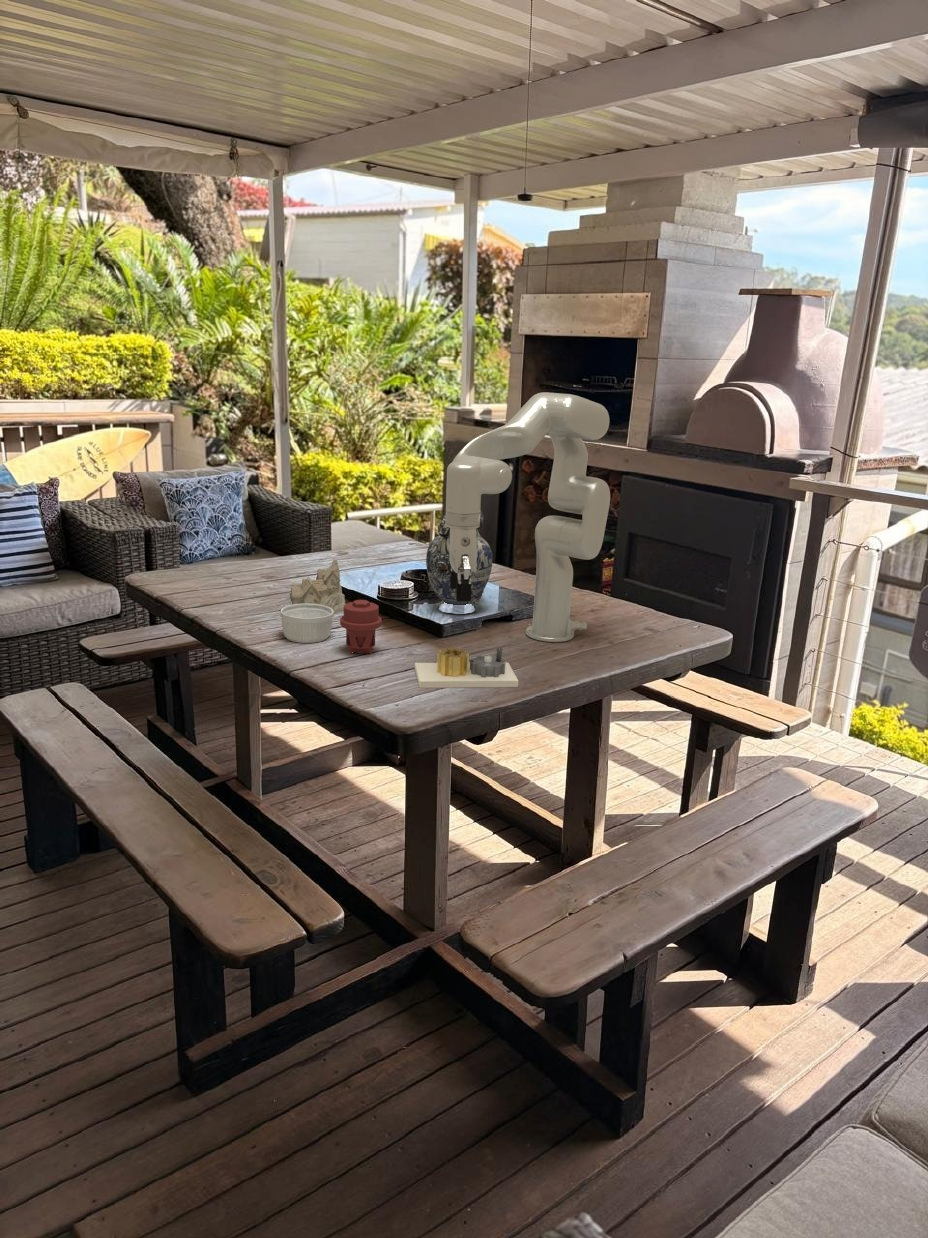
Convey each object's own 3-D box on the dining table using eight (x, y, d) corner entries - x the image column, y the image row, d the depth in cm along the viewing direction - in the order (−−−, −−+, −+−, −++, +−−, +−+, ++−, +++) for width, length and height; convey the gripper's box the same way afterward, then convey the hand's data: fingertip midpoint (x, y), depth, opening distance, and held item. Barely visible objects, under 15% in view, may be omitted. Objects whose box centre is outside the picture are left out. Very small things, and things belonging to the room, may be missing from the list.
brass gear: (465, 666, 211) (466, 647, 210) (470, 677, 204) (471, 658, 203) (435, 666, 210) (435, 647, 209) (438, 677, 203) (439, 658, 202)
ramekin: (343, 634, 234) (343, 608, 232) (314, 648, 223) (314, 621, 221) (300, 625, 239) (300, 600, 237) (269, 639, 228) (269, 612, 226)
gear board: (507, 668, 215) (509, 640, 213) (517, 687, 204) (519, 657, 202) (414, 668, 212) (415, 640, 210) (419, 687, 201) (420, 657, 199)
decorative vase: (465, 624, 247) (469, 521, 239) (409, 612, 256) (411, 513, 248) (504, 607, 264) (509, 511, 256) (450, 597, 273) (453, 503, 266)
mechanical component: (338, 657, 217) (340, 643, 227) (381, 657, 218) (381, 644, 228) (339, 607, 214) (341, 595, 223) (382, 608, 215) (382, 596, 224)
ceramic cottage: (348, 598, 265) (345, 548, 260) (345, 617, 250) (341, 564, 245) (293, 600, 264) (289, 550, 259) (287, 619, 249) (283, 566, 244)
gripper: (486, 527, 192) (483, 605, 197) (473, 511, 208) (470, 583, 214) (451, 527, 191) (448, 606, 196) (440, 511, 207) (438, 584, 212)
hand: (460, 594), depth 205 cm, fingers open, 9 cm apart
